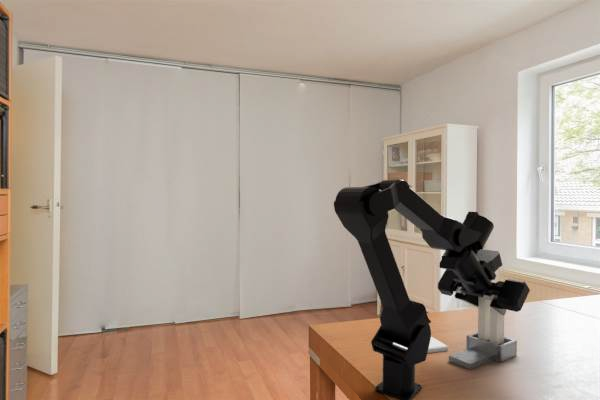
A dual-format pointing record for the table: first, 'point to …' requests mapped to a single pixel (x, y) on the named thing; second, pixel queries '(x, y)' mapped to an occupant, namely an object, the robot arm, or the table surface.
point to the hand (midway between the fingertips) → (494, 310)
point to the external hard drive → (432, 346)
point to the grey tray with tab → (483, 352)
